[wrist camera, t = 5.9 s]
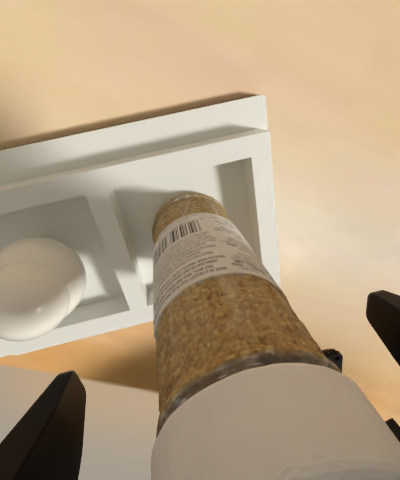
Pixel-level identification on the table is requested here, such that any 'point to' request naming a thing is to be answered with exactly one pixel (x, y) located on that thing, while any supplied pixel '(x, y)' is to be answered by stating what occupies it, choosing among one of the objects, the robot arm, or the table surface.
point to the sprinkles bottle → (247, 368)
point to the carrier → (136, 202)
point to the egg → (38, 287)
